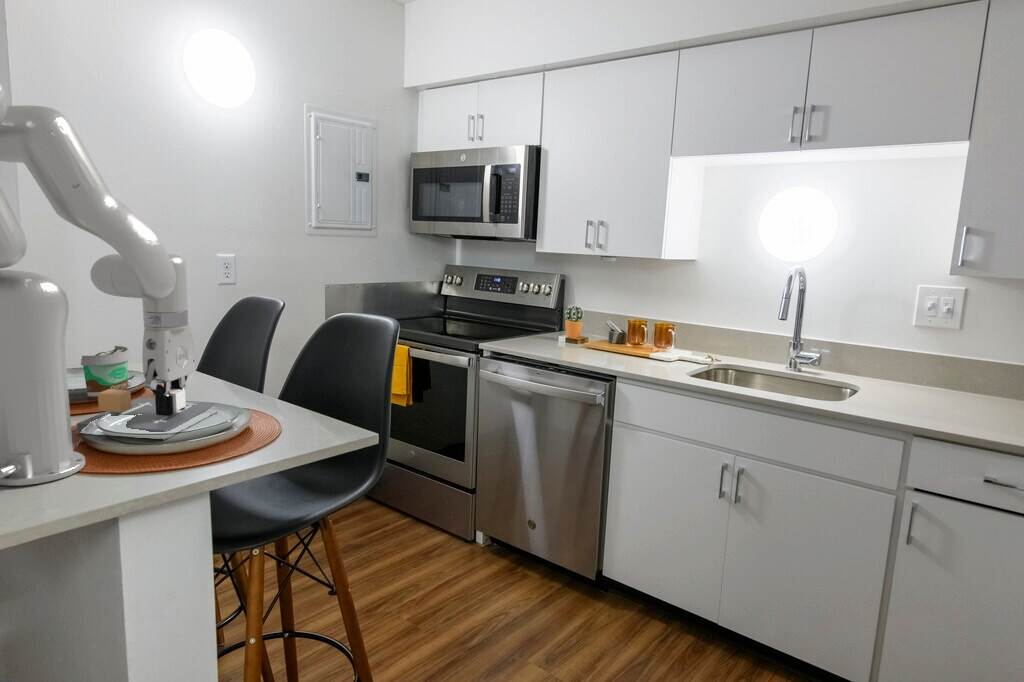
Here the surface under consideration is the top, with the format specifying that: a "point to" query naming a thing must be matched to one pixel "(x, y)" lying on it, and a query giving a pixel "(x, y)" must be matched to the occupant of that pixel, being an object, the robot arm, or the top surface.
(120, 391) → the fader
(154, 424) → the panel
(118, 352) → the food container
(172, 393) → the fader
